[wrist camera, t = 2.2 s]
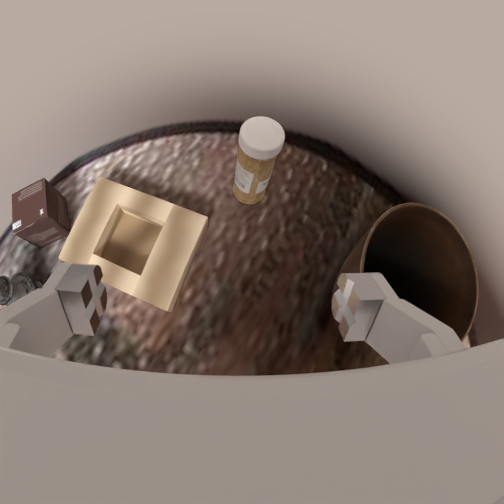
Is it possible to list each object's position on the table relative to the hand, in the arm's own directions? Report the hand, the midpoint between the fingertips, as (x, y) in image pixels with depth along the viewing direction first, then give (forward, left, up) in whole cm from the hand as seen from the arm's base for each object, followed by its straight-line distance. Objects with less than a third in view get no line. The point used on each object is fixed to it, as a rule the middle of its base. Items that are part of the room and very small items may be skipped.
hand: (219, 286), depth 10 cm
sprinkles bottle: (+2, -17, -28) cm, 33 cm away
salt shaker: (+25, +9, -28) cm, 39 cm away
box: (+27, -2, -28) cm, 39 cm away
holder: (+13, -4, -27) cm, 31 cm away
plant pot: (-17, -8, -28) cm, 33 cm away
